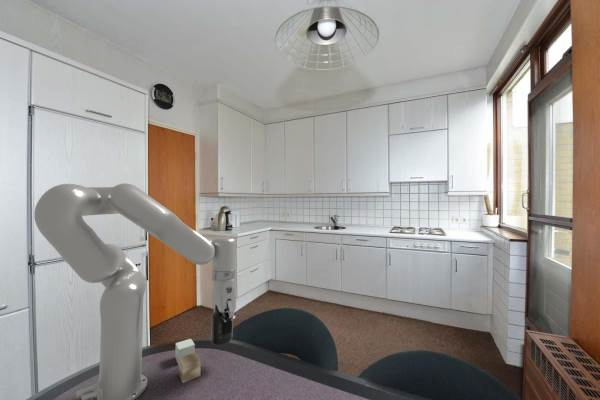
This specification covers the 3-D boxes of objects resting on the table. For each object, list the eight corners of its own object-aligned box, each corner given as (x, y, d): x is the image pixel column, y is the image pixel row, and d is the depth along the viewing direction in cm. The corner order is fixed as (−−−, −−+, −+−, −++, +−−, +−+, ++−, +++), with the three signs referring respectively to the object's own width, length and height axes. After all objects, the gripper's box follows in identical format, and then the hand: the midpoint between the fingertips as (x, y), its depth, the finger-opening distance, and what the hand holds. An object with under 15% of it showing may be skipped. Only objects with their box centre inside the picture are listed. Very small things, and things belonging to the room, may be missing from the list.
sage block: (178, 365, 80) (178, 349, 80) (175, 358, 84) (175, 343, 84) (194, 359, 83) (194, 344, 83) (190, 352, 87) (190, 338, 87)
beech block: (182, 383, 71) (183, 365, 72) (178, 374, 75) (179, 357, 75) (200, 376, 74) (200, 359, 75) (195, 368, 78) (196, 352, 79)
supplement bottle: (235, 336, 83) (236, 300, 84) (227, 346, 77) (228, 308, 77) (217, 334, 84) (218, 299, 85) (206, 344, 78) (208, 306, 78)
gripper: (245, 278, 77) (244, 336, 76) (224, 268, 91) (223, 317, 90) (222, 282, 72) (220, 343, 72) (204, 271, 86) (202, 322, 85)
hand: (222, 328), depth 81 cm, fingers closed on supplement bottle, 6 cm apart
